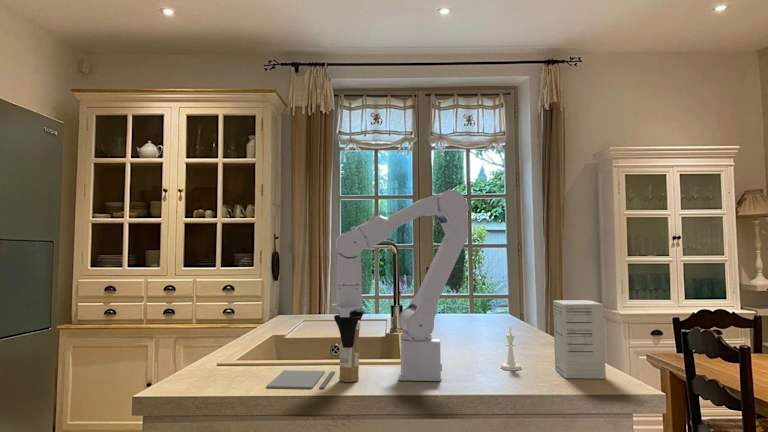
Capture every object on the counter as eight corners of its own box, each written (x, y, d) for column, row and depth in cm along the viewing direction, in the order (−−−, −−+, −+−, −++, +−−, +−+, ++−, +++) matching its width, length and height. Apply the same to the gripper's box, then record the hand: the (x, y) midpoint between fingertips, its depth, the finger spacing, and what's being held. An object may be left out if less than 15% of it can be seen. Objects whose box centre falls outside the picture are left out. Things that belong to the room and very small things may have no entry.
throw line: (335, 372, 128) (335, 371, 128) (323, 388, 114) (323, 387, 114) (331, 372, 128) (331, 371, 128) (319, 388, 114) (319, 387, 114)
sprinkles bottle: (362, 380, 120) (364, 320, 120) (346, 383, 117) (347, 322, 118) (351, 376, 124) (352, 317, 124) (334, 379, 121) (336, 319, 121)
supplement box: (606, 379, 120) (605, 304, 121) (565, 379, 120) (563, 304, 121) (592, 369, 129) (590, 299, 130) (553, 369, 130) (552, 299, 131)
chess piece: (500, 370, 129) (499, 328, 130) (501, 365, 134) (500, 325, 134) (521, 371, 128) (520, 329, 129) (521, 366, 133) (520, 325, 133)
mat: (324, 372, 128) (324, 370, 128) (312, 388, 114) (312, 386, 114) (283, 372, 129) (283, 370, 129) (266, 388, 115) (266, 386, 115)
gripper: (337, 282, 129) (337, 339, 128) (325, 287, 114) (326, 351, 114) (366, 282, 128) (366, 339, 128) (358, 287, 114) (358, 351, 113)
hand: (349, 345), depth 121 cm, fingers closed on sprinkles bottle, 4 cm apart
